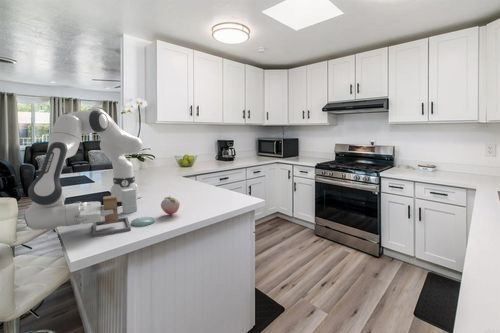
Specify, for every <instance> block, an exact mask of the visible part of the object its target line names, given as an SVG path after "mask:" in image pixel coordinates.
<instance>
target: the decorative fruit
mask: <svg viewBox="0 0 500 333" xmlns="http://www.w3.org/2000/svg"><path fill="white" fill-rule="evenodd" d="M180 204H181V203H180V201H179V200H178V199H177V198H175V197H171V196H167V197H164V199H163V200H162V201H161V203H160V208H161V209H162V211H163V212H164V213H165V214H167V215H169V216H173V215H174V214H176V213H177V212H178V211H179V209H180V207H181V206H180Z"/></svg>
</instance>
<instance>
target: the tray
mask: <svg viewBox="0 0 500 333" xmlns="http://www.w3.org/2000/svg"><path fill="white" fill-rule="evenodd" d="M120 222H125V224H126V227H122V228H118V229H117V228H115V229H110V230H105V231H99V232H98V231H97V226H98V225H104V224H105V220H101V221H99V222H95V223H93V224H92V225H93V227H92V238H94V237H95V238H96V237H100V236H107V235H111V234H113V235H114V234H119V233H124V232H130V231H131V230H132V229H131V225H130V222H129V218H128V216H126V217H120V218H119V217H118V222H117V223H120ZM105 225H106V224H105Z"/></svg>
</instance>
